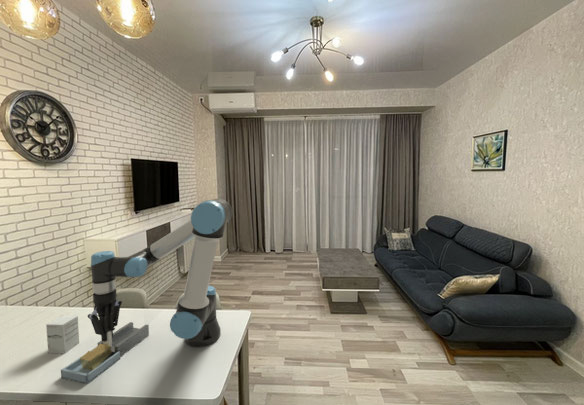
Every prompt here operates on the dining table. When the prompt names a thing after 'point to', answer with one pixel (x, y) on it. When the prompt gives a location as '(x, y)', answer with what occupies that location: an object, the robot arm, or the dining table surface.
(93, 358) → the yellow brown block
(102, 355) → the chip
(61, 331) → the supplement box
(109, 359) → the tray
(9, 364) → the dining table surface
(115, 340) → the slot bed
